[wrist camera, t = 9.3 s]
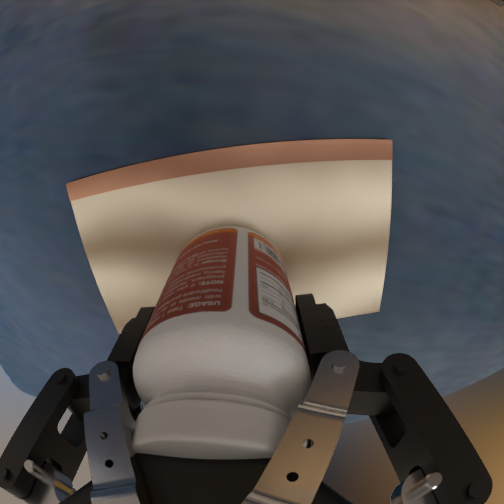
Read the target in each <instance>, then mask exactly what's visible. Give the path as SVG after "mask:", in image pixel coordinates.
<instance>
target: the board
mask: <svg viewBox="0 0 504 504" xmlns="http://www.w3.org/2000/svg"><path fill="white" fill-rule="evenodd" d="M392 160H393V153H392V140H388V139H313V140H295V141H280V142H269V143H258V144H249V145H240V146H232V147H224V148H217V149H211V150H204V151H198V152H192V153H186V154H181V155H175V156H170V157H165V158H160V159H155V160H151V161H146V162H142V163H137V164H133V165H129V166H125V167H121V168H117V169H113V170H109V171H106V172H102V173H98V174H95V175H91V176H88V177H85V178H81V179H78V180H75V181H72V182H69V183H67V184H66V186H67V191H68V195H69V199H70V201H71V204H72V208H73V211H74V215H75V219H76V222H77V226H78V229H79V233H80V236H81V239H82V242H83V246H84V249H85V252H86V255H87V258H88V260H89V263H90V266H91V269H92V272H93V274H94V277H95V280H96V282H97V285H98V287H99V290H100V292H101V295H102V297H103V300H104V302H105V304H106V307H107V309H108V311H109V313H110V316H111V318H112V320H113V322H114V324H115V327H116V329H117V331H118V333H121V332H122V330H123V328H124V326H125V324H127V323H128V322H129V321H130V320H131V319H132V318H136V316H137V314H138V312H139V310H140V308H141V307H155V306H156V304H157V301H158V299H159V297H160V295H161V293H162V290H163V288H164V286H165V284H166V281H167V279H168V277H169V275H170V273H171V271H172V269H173V267H174V264H175V262H176V260H177V258H178V256H179V255H180V253H181V252H182V250H183V249H184V247H185V246H186V245H187V244H188V243H189V242H190V241H191V240H192V239H193V238H194V237H196V236H197V235H199V234H201V233H203V232H205V231H208V230H210V229H214V228H218V227H224V226H235V227H242V228H246V229H249V230H252V231H255V232H257V233H259V234H261V235H262V236H264V237H265V238H266V239H268V240H269V241H270V242H271V243H272V244H273V245H274V246H275V247H276V249H277V250H278V252H279V253H280V255H281V257H282V259H283V262H284V265H285V268H286V272H287V276H288V280H289V284H290V288H291V292H292V296H293V300H294V304H295V296H296V295H302V294H310V293H312V294H313V296H314V299H315V302H316V304H322V303H326V304H327V305H328V306H329V307H330V308H332V309H333V311H334V314H335V316H336V318H343V317H349V316H355V315H361V314H367V313H372V312H378V311H379V309H380V303H381V297H382V291H383V285H384V278H385V270H386V262H387V253H388V243H389V232H390V218H391V197H392ZM295 308H296V307H295Z"/></svg>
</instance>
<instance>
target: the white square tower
mask: <svg viewBox="0 0 504 504" xmlns="http://www.w3.org/2000/svg"><path fill="white" fill-rule="evenodd" d="M492 1H493V2H495V3H496V4H498V5H499V6H500V7H501V6H504V0H492Z"/></svg>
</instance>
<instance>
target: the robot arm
mask: <svg viewBox="0 0 504 504" xmlns="http://www.w3.org/2000/svg"><path fill="white" fill-rule="evenodd" d="M295 307H296V312H297V316H298V320H299V324H300V329H301V333H302V337H303V341H304V345H305V349H306V353H307V357H308V362H309V367H310V372H311V386H310V389H309V391H308V393H307V395H306V398H305V400H304V402H303V403H300V404H299V405H298V407H297V409H296V411H295V413H294V415H293V417H292V419H291V421H290V423H289V425H288V427H287V429H286V431H285V433H284V435H283V437H282V439H281V441H280V443H279V445H278V447H277V449H276V450H275V452H274V454H273V456H272V458H259V459H194V458H180V457H169V456H161V455H153V454H145V453H135V451H134V449H133V447H132V440H133V436H134V432H135V427H136V421H137V418H138V416H139V414H140V413H141V412H142V411H143V409H144V408H143V405H142V404H141V398H140V397H139V395H138V393H137V390H136V388H135V384H134V380H133V363H134V358H135V355H136V352H137V349H138V346H139V343H140V341H141V338H142V336H143V333H144V331H145V329H146V327H147V324H148V322H149V320H150V317H151V315H152V313H153V311H154V308H155V307H141V308H140V310H139V312H138V314H137V316H136V318H132V319H131V320H130V321H129V322H128V323H127V324H125V326H124V328H123V330H122V332H121V334H120V336H119V338H118V340H117V341H116V343H115V345H114V347H113V349H112V351H111V353H110V355H109V357H108V359H107V361H103V362H100V363H98V364H96V365H95V366H94V367H93V368H92V369H91V371H90V373H89V374H87V375H81V376H75V374H74V373H73V371H72V370H71V369H69V368H62V369H59V370H57V371H56V372H55V373H54V374H53V375H52V376H51V377H50V379H49V380H48V382H47V383H46V384H45V386H44V387H43V389H42V390H41V392H40V393H39V395H38V396H37V398H36V399H35V401H34V402H33V404H32V406H31V407H30V409H29V410H28V412H27V413H26V415H25V416H24V418H23V419H22V421H21V423H20V424H19V426H18V428H17V429H16V431H15V433H14V434H13V436H12V438H11V440H10V441H9V443H8V445H7V447H6V449H5V450H4V452H3V454H2V456H1V458H0V487H2V488H3V489H5V490H6V491H8V492H9V493H11V494H13V495H14V496H15V497H16V498H18V499H20V500H21V501H23V502H25V503H27V504H353V503H351V502H350V501H348V500H347V499H346V498H344V497H343V496H342V495H340V494H339V493H338V492H336V491H335V490H334V489H332V488H331V487H330V486H328V485H327V484H326V483H325V482H323V481H322V479H323V477H324V475H325V472H326V470H327V467H328V465H329V462H330V460H331V457H332V454H333V452H334V449H335V447H336V444H337V441H338V438H339V435H340V433H341V429H342V427H343V424H344V420H345V417H346V414H358V415H369V417H370V419H371V421H372V423H373V425H374V427H375V429H376V431H377V433H378V435H379V437H380V440H381V441H382V444H383V446H384V448H385V450H386V452H387V454H388V456H389V459H390V461H391V463H392V465H393V467H394V470H395V472H396V474H397V476H398V478H399V480H400V484H398V485H397V486H396V487H395V489H394V490H393V492H392V494H391V504H484V503H485V502H486V501H487V499H488V498H489V496H490V494H491V491H492V479H491V477H490V475H489V473H488V471H487V469H486V467H485V466H484V464H483V462H482V460H481V459H480V457H479V455H478V453H477V452H476V450H475V448H474V447H473V445H472V443H471V442H470V440H469V439H468V437H467V436H466V434H465V432H464V431H463V429H462V427H461V426H460V424H459V423H458V421H457V420H456V418H455V416H454V415H453V414H452V412H451V411H450V409H449V407H448V406H447V405H446V403H445V401H444V400H443V398H442V397H441V396H440V394H439V393H438V391H437V390H436V388H435V387H434V385H433V384H432V383H431V381H430V380H429V378H428V377H427V376H426V374H425V373H424V371H423V370H422V369H421V367H420V366H419V365H418V363H417V362H416V361H415V359H413V358H412V357H411V356H409V355H407V354H402V353H396V354H392V355H390V356H388V357H387V358H386V359H385V360H384V361H383V363H369V362H363V361H360V360H358V358H357V357H356V356H355V355H354V354H352V353H351V352H349V350H348V347H347V344H346V342H345V339H344V337H343V334H342V331H341V329H340V326H339V324H338V321H337V319H336V316H335V314H334V311H333V309H332V308H330V307H329V306H328V305H327V304H326V303H322V304H316V302H315V299H314V296H313V294H312V293H310V294H302V295H296V296H295ZM67 408H68V409H69V410H70V411H71V412H72V415H71V417H70V418H69V420H68V422H67V424H66V425H65V427H64V429H63V431H62V433H61V434H60V433H59V432H58V429H57V426H58V423H59V421H60V419H61V417H62V416H63V414H64V412H65V411H66V409H67ZM86 451H87V454H88V461H89V467H90V473H91V478H92V480H91V481H90V482H89V483H87V484H86V485H84V486H83V487H82V488H80V489H79V490H77V491H76V490H75V489H74V488H73V485H72V481H73V479H74V477H75V475H76V473H77V470H78V468H79V466H80V464H81V462H82V460H83V457H84V455H85V453H86Z"/></svg>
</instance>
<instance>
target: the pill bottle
mask: <svg viewBox="0 0 504 504" xmlns="http://www.w3.org/2000/svg"><path fill="white" fill-rule="evenodd" d="M133 380H134V384H135V388H136V390H137V393H138V395H139V397H140V398H141V400H142V401H143V403H144V404H145V407H144V409H143V411H142V412H141V413H140V414H139V416H138V418H137V421H136V427H135V432H134V436H133V440H132V447H133V449H134V451H135V453H145V454H153V455H161V456H169V457H180V458H194V459H259V458H272V456H273V454H274V452H275V450H276V449H277V447H278V445H279V443H280V441H281V439H282V437H283V435H284V433H285V431H286V429H287V427H288V425H289V423H290V421H291V419H292V417H293V415H294V413H295V411H296V409H297V407H298V405H299V404H300V403H303V402H304V400H305V398H306V395H307V393H308V391H309V389H310V386H311V372H310V367H309V362H308V357H307V353H306V349H305V345H304V341H303V337H302V333H301V329H300V324H299V320H298V316H297V312H296V308H295V304H294V300H293V296H292V292H291V288H290V284H289V280H288V276H287V272H286V268H285V265H284V262H283V259H282V257H281V255H280V253H279V252H278V250H277V249H276V247H275V246H274V245H273V244H272V243H271V242H270V241H269V240H268V239H266V238H265V237H264V236H262V235H261V234H259V233H257V232H255V231H252V230H249V229H246V228H242V227H235V226H224V227H218V228H214V229H210V230H208V231H205V232H203V233H201V234H199V235H197V236H196V237H194V238H193V239H192V240H191V241H190V242H189V243H188V244H187V245H186V246H185V247H184V249H183V250H182V252H181V253H180V255H179V256H178V258H177V260H176V262H175V264H174V267H173V269H172V271H171V273H170V275H169V277H168V279H167V281H166V284H165V286H164V288H163V290H162V293H161V295H160V297H159V299H158V301H157V304H156V306H155V308H154V311H153V313H152V315H151V317H150V320H149V322H148V324H147V327H146V329H145V331H144V333H143V336H142V338H141V341H140V343H139V346H138V349H137V352H136V355H135V358H134V363H133Z"/></svg>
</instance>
